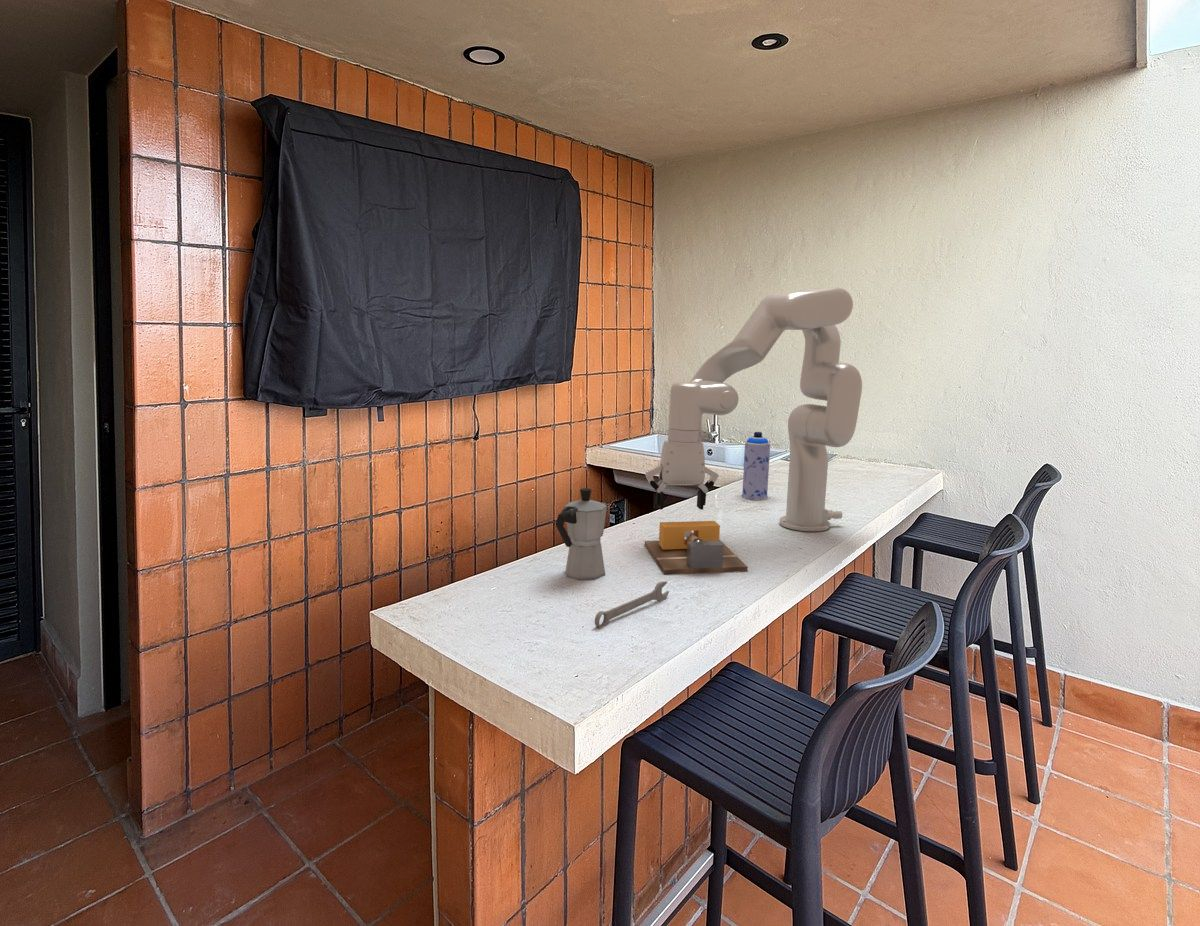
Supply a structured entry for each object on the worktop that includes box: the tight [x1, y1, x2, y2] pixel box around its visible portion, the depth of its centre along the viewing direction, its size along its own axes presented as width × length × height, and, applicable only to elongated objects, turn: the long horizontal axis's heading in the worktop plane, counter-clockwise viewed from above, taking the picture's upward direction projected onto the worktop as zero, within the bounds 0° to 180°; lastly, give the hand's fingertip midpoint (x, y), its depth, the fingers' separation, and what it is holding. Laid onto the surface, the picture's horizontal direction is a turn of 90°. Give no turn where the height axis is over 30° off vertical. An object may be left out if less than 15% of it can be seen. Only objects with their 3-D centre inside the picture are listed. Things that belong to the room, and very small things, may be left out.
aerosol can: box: [741, 431, 771, 501], centre depth 210 cm, size 8×8×20 cm
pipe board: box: [644, 538, 749, 575], centre depth 156 cm, size 18×20×1 cm
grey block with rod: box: [685, 531, 724, 569], centre depth 155 cm, size 7×19×5 cm, turn 8°
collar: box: [658, 520, 721, 550], centre depth 159 cm, size 13×4×5 cm, turn 98°
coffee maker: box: [555, 487, 608, 581], centre depth 143 cm, size 15×9×18 cm, turn 141°
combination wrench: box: [594, 580, 670, 629], centre depth 125 cm, size 4×1×20 cm
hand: (680, 508), depth 164 cm, fingers open, 9 cm apart
